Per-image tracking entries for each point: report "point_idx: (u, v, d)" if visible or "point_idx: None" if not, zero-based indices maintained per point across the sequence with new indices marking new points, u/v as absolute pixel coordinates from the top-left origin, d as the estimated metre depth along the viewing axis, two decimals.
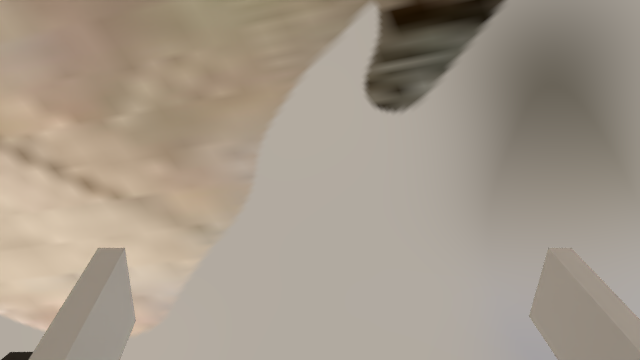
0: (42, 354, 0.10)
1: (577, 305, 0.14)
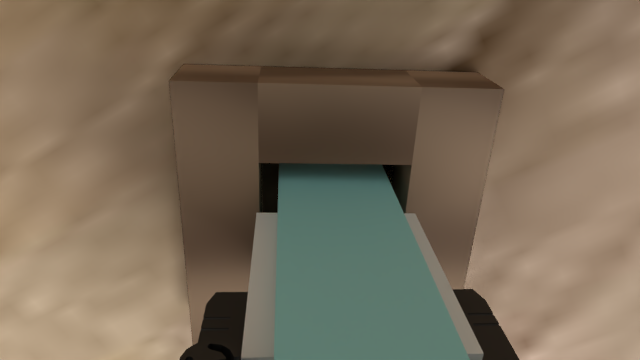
0: (257, 289, 0.13)
1: None
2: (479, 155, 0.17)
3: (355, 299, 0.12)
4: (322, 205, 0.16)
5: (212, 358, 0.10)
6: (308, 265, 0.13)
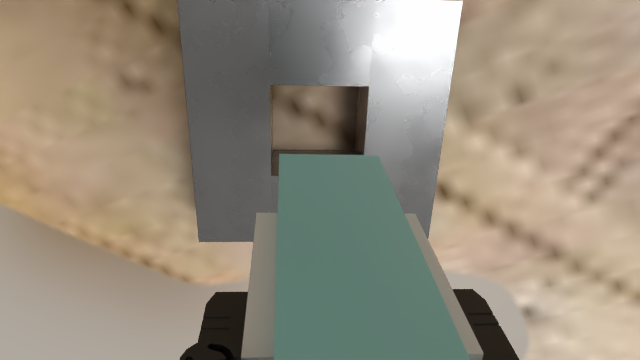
0: (257, 289, 0.13)
1: None
2: None
3: (355, 298, 0.12)
4: (322, 205, 0.16)
5: (212, 358, 0.10)
6: (308, 264, 0.13)
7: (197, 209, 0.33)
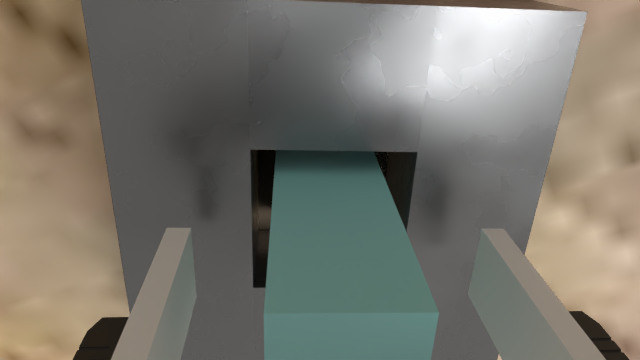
0: (138, 316, 0.12)
1: (501, 280, 0.15)
2: None
3: (336, 241, 0.14)
4: (313, 172, 0.18)
5: None
6: (298, 217, 0.15)
7: None
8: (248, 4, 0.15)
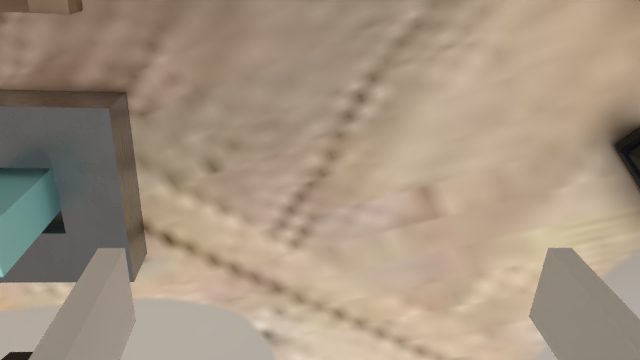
0: (42, 354, 0.10)
1: (577, 305, 0.14)
2: None
3: None
4: (8, 177, 0.39)
5: None
6: None
7: None
8: None
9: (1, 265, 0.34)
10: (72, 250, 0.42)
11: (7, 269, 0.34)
